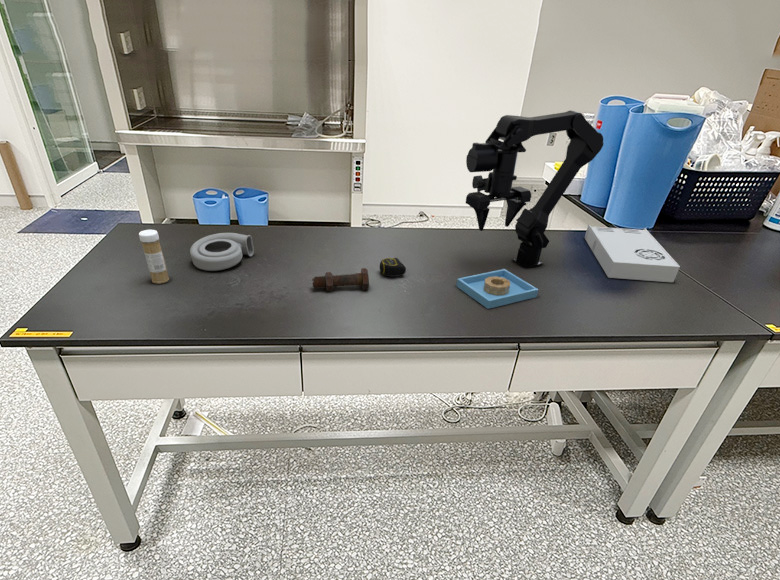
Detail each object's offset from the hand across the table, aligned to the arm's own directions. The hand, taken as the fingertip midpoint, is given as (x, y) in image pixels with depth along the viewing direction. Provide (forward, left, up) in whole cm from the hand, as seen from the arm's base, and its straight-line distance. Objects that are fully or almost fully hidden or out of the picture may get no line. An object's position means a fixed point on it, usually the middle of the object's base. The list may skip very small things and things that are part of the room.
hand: (493, 228), depth 143 cm
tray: (+7, +14, -12) cm, 20 cm away
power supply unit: (-46, +12, -12) cm, 49 cm away
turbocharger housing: (+71, -36, -12) cm, 81 cm away
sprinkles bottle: (+89, -29, -12) cm, 94 cm away
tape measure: (+28, -8, -12) cm, 32 cm away
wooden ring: (+7, +14, -12) cm, 19 cm away
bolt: (+46, -5, -12) cm, 48 cm away
